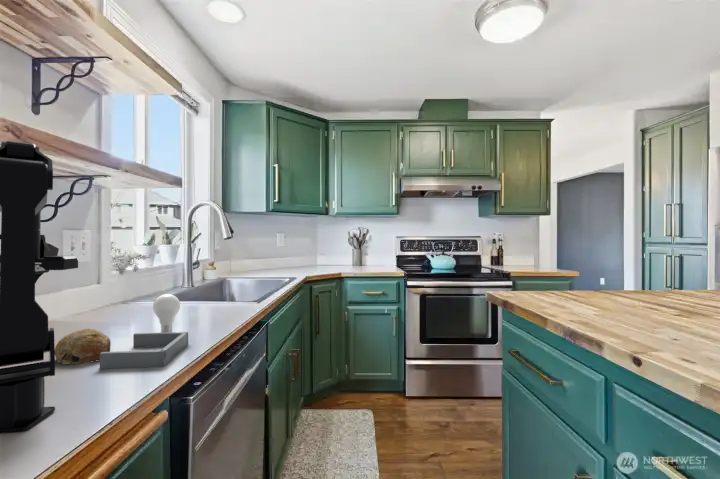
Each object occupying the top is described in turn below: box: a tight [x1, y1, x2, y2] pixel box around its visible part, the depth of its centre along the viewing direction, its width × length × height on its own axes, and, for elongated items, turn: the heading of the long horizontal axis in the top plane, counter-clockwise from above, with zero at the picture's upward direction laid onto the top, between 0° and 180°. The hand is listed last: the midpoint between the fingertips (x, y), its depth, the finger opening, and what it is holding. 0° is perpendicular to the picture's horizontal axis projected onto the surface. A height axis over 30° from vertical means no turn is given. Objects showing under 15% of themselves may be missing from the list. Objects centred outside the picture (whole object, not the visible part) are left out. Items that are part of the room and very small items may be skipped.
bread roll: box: [55, 328, 111, 365], centre depth 83 cm, size 10×10×8 cm
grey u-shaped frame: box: [99, 331, 189, 369], centre depth 85 cm, size 16×12×3 cm
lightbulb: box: [152, 293, 181, 333], centre depth 101 cm, size 6×6×11 cm
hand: (22, 303), depth 81 cm, fingers closed
